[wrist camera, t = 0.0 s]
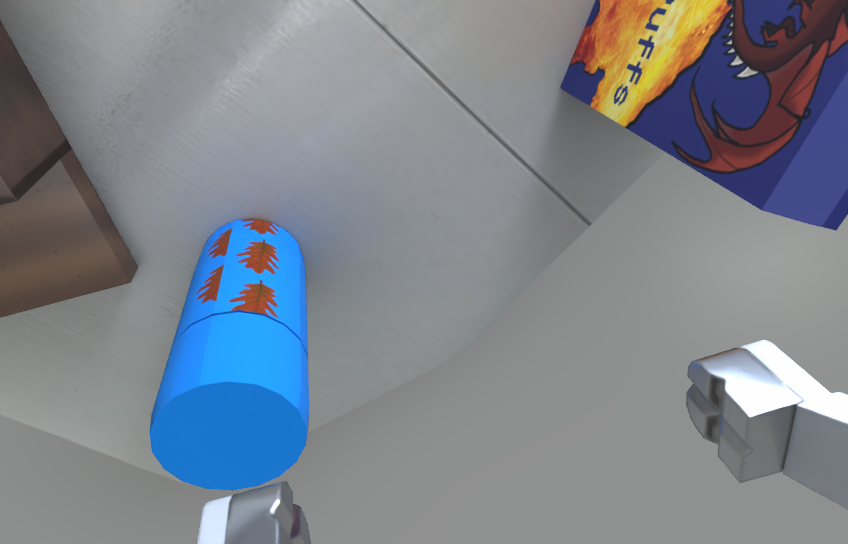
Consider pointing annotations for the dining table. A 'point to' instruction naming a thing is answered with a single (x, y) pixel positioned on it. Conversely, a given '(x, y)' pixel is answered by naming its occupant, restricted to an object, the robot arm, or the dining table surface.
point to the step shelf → (47, 205)
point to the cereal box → (730, 93)
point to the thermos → (237, 363)
